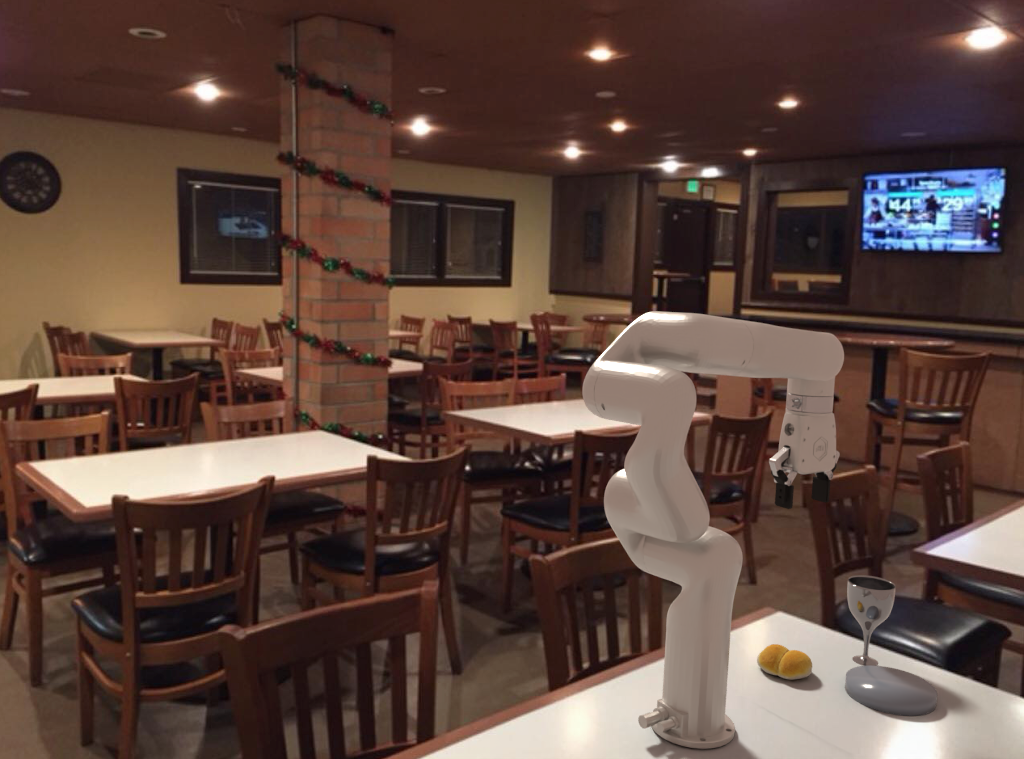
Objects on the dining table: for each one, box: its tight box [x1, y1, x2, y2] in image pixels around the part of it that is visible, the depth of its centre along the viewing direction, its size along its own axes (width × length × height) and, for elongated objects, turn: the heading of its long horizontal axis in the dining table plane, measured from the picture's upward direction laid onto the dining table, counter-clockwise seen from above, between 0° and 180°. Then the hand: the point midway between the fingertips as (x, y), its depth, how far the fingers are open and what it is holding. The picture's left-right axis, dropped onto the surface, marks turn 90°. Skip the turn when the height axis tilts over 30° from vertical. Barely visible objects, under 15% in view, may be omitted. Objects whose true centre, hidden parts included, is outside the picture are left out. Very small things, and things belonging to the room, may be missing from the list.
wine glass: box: [846, 574, 896, 666], centre depth 157 cm, size 8×8×15 cm
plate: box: [844, 665, 938, 717], centre depth 145 cm, size 14×14×2 cm
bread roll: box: [756, 643, 813, 680], centre depth 152 cm, size 8×9×4 cm
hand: (802, 503), depth 149 cm, fingers open, 9 cm apart
